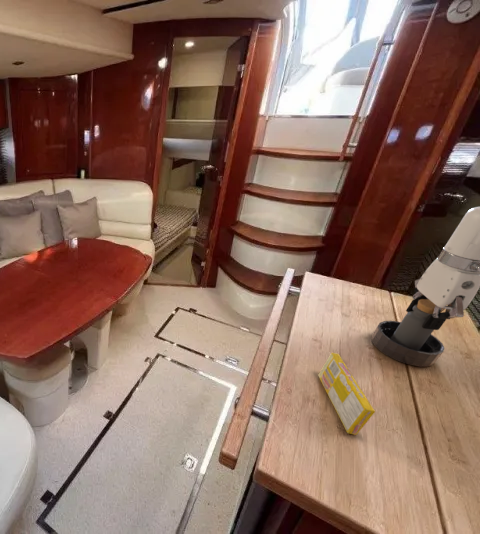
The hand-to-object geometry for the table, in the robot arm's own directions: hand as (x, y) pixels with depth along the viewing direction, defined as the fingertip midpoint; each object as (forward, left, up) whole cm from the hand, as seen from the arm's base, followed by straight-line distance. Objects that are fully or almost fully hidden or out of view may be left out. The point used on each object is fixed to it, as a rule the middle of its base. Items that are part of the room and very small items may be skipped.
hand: (421, 319), depth 80 cm
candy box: (+24, +24, -11) cm, 36 cm away
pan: (0, 0, -11) cm, 11 cm away
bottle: (0, 0, -10) cm, 10 cm away
